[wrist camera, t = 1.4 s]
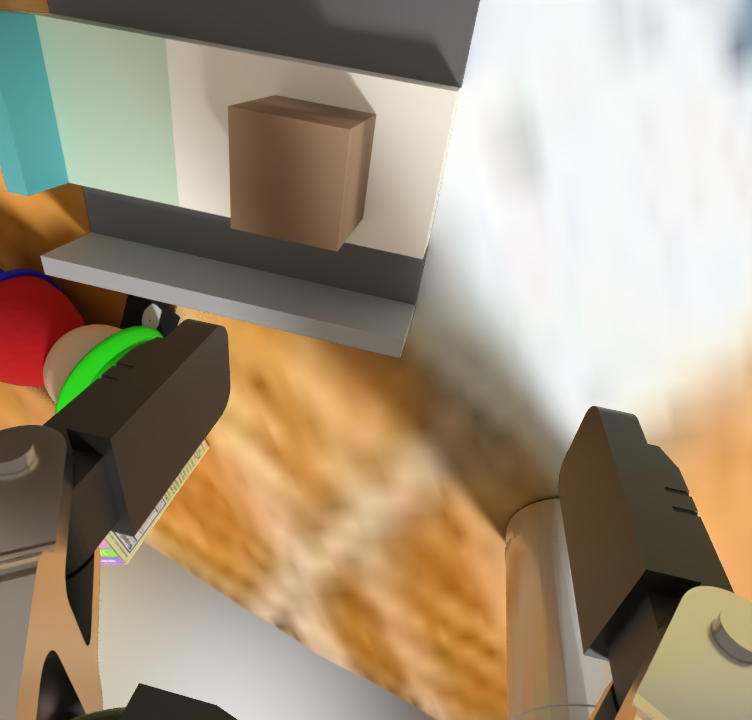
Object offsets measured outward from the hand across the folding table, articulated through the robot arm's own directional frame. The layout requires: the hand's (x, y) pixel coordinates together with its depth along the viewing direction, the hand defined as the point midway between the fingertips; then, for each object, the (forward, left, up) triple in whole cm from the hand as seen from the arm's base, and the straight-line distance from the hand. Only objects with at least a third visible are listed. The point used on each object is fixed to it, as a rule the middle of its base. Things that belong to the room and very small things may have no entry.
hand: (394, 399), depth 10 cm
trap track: (+12, 0, -20) cm, 23 cm away
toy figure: (+24, +15, -20) cm, 35 cm away
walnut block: (+7, 0, -17) cm, 18 cm away
